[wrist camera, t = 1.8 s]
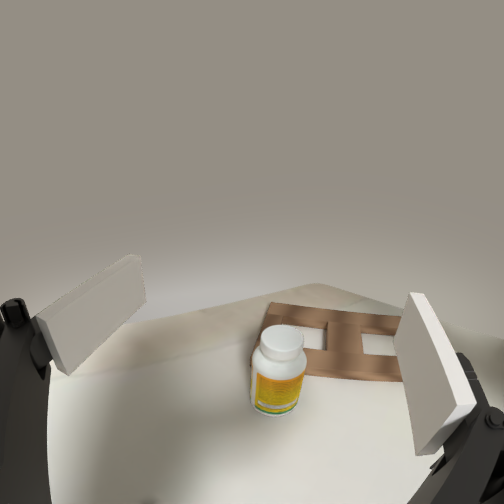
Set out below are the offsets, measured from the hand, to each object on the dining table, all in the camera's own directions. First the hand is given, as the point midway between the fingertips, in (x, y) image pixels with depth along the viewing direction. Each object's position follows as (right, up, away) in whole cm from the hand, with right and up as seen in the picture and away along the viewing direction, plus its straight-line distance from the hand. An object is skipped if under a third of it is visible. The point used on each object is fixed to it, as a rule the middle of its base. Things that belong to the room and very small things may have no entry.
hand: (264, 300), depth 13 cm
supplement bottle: (+2, -15, +16) cm, 22 cm away
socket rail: (+13, -11, +25) cm, 30 cm away
